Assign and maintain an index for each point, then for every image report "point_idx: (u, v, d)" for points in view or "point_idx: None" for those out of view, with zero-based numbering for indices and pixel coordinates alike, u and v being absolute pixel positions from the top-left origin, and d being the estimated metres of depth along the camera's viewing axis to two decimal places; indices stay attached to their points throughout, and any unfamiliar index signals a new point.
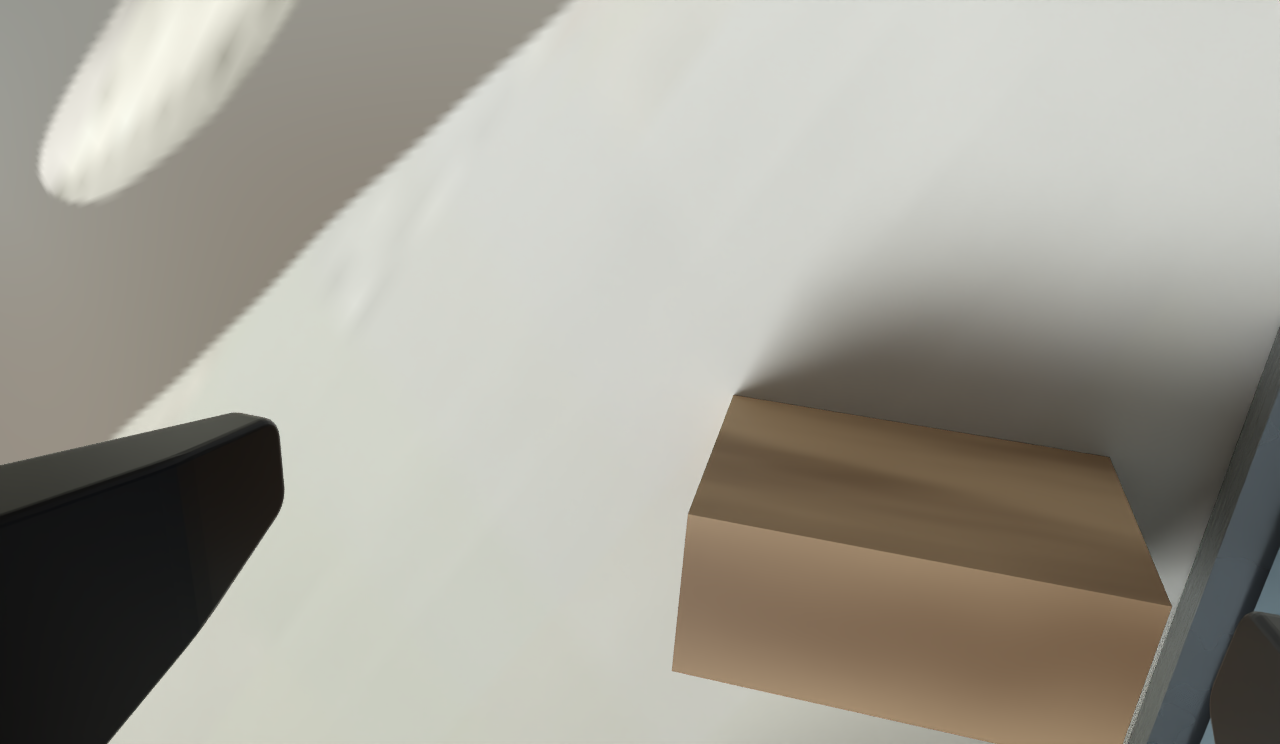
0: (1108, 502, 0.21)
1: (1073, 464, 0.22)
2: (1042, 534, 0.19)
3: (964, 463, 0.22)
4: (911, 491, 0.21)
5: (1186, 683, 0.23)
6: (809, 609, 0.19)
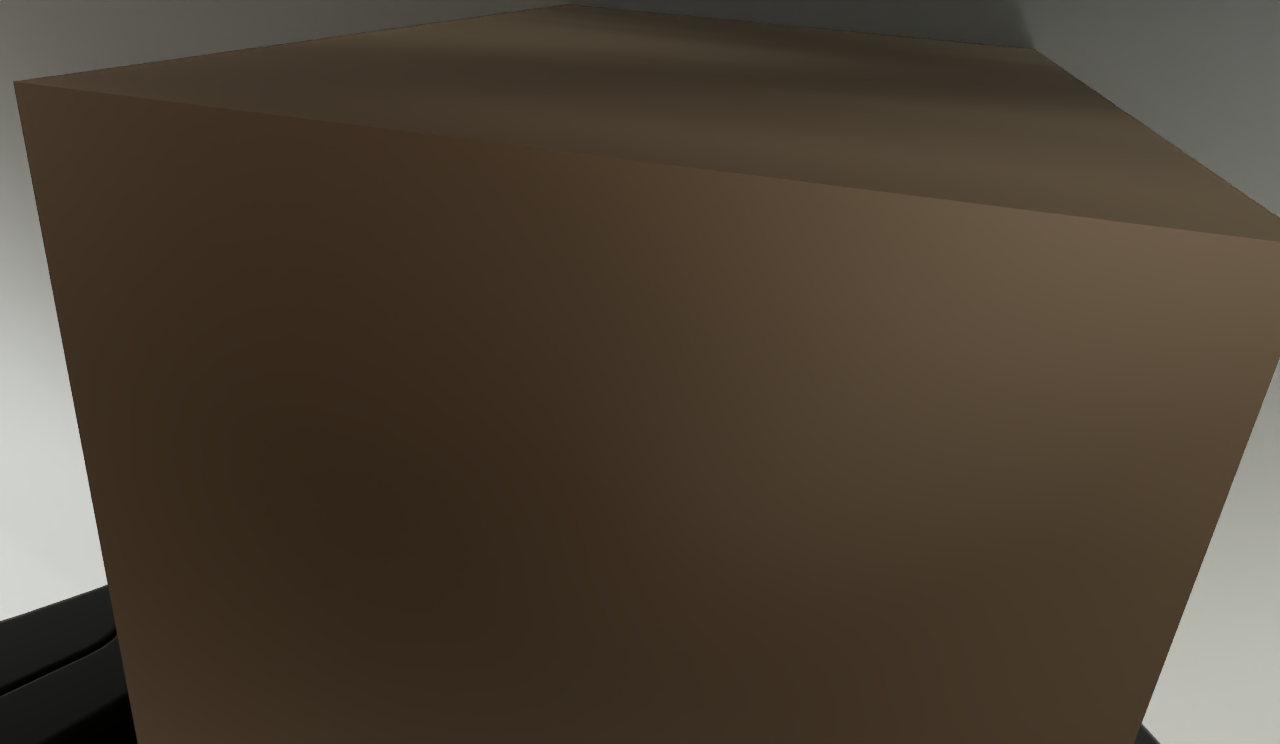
0: None
1: None
2: None
3: None
4: None
5: None
6: None
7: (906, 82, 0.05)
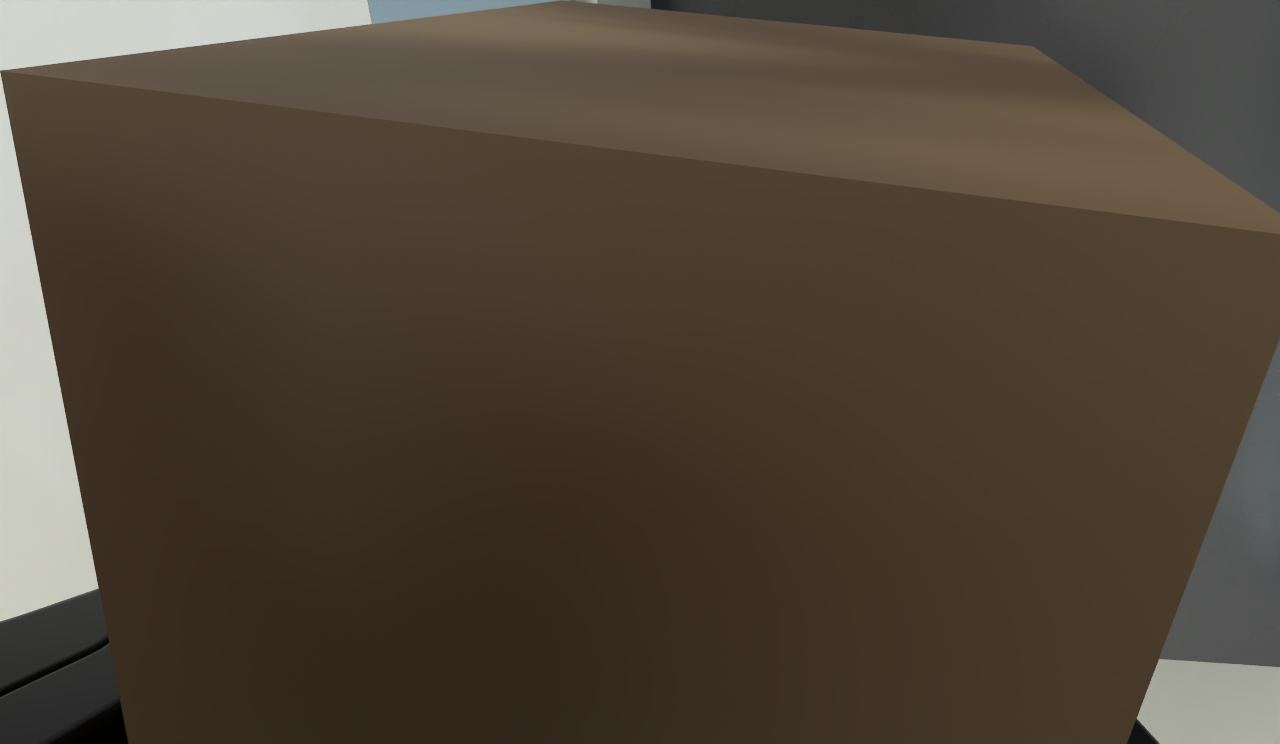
0: None
1: None
2: None
3: None
4: None
5: None
6: None
7: (903, 77, 0.05)
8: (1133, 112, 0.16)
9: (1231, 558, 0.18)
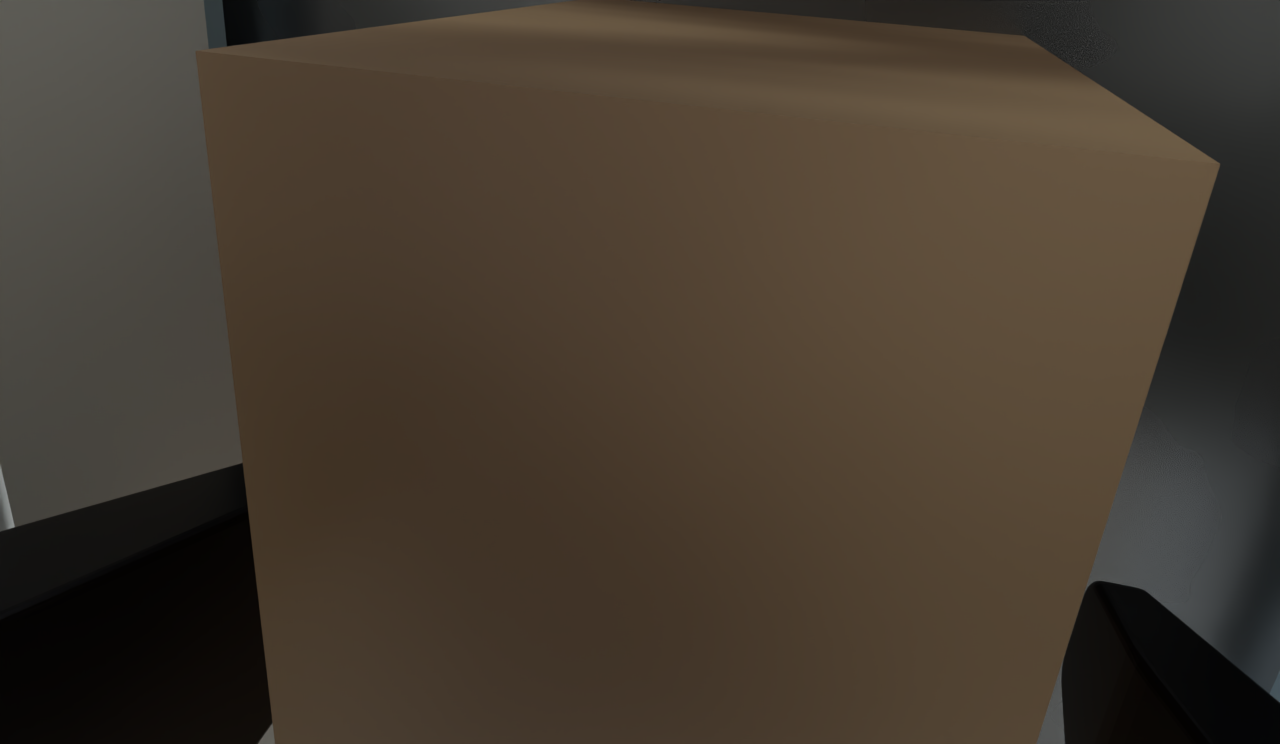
0: None
1: None
2: None
3: None
4: None
5: None
6: None
7: (908, 59, 0.06)
8: None
9: None
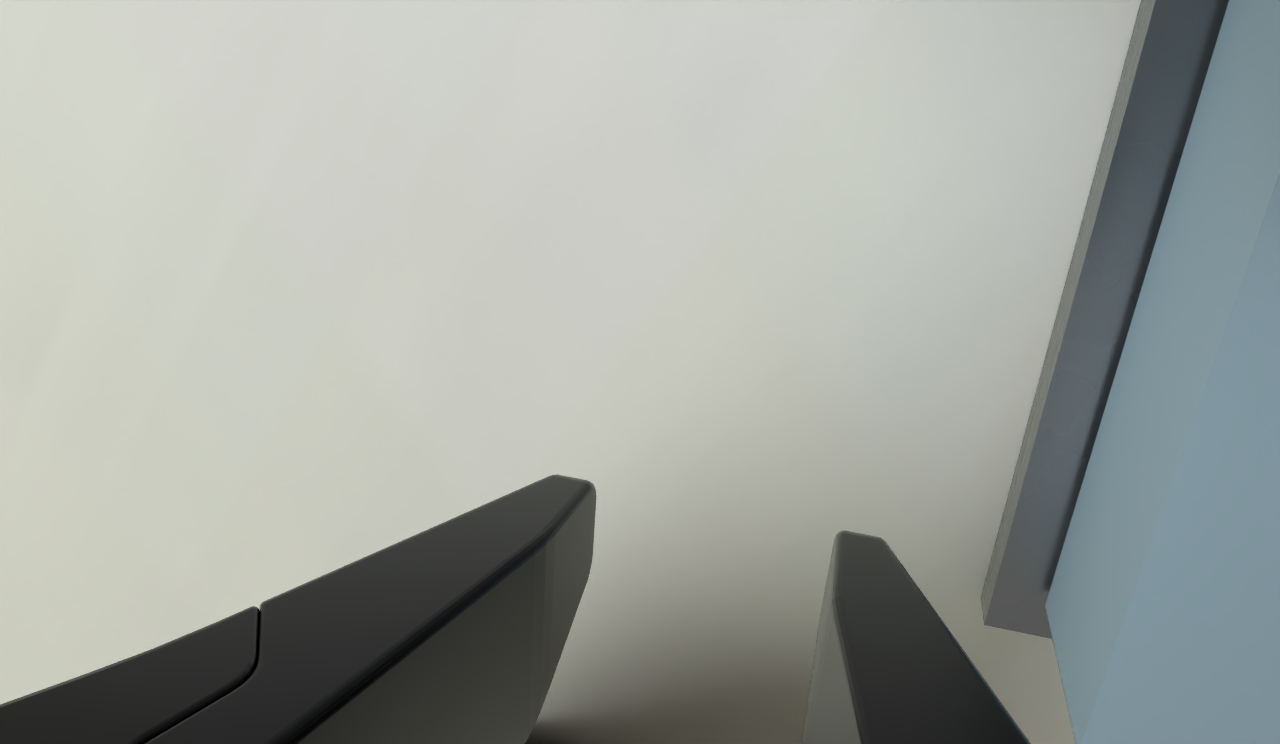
0: None
1: None
2: None
3: None
4: None
5: (1083, 338, 0.18)
6: None
7: None
8: None
9: None
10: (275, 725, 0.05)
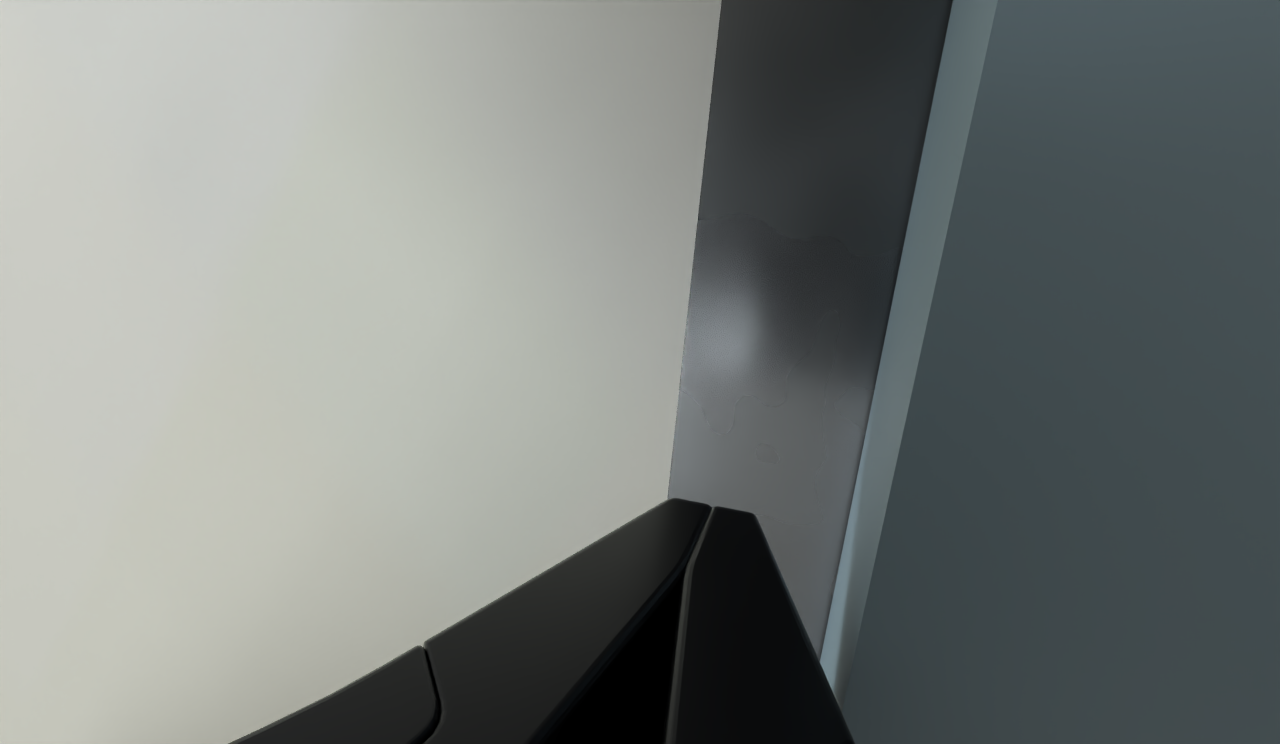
0: None
1: None
2: None
3: None
4: None
5: None
6: None
7: None
8: None
9: None
10: None
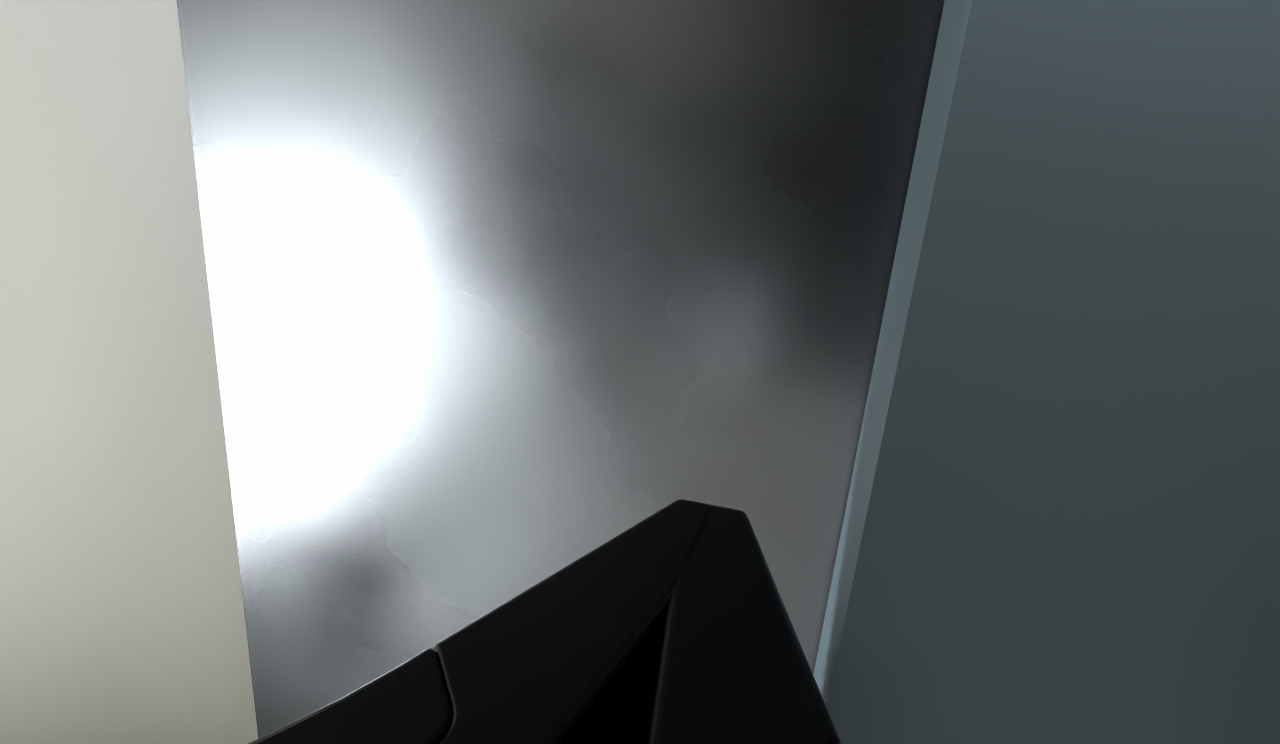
0: None
1: None
2: None
3: None
4: None
5: (245, 414, 0.13)
6: None
7: None
8: None
9: None
10: None
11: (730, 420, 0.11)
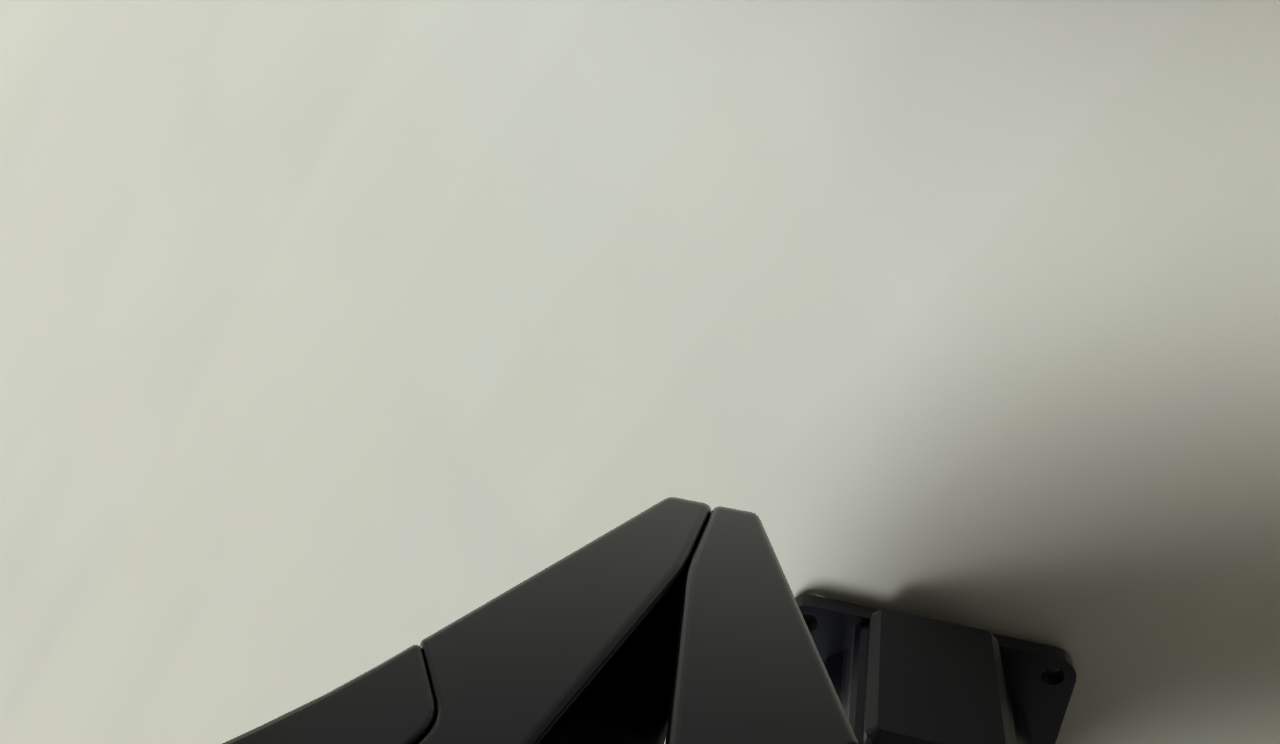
0: None
1: None
2: None
3: None
4: None
5: None
6: None
7: None
8: None
9: None
10: None
11: None
